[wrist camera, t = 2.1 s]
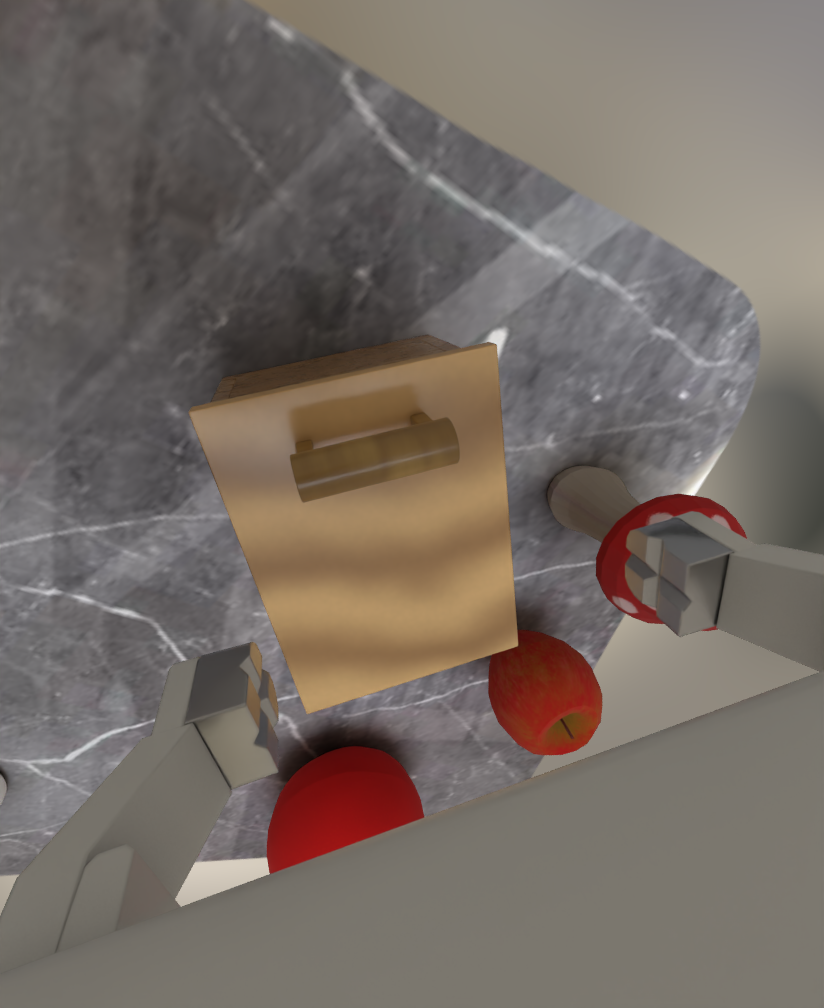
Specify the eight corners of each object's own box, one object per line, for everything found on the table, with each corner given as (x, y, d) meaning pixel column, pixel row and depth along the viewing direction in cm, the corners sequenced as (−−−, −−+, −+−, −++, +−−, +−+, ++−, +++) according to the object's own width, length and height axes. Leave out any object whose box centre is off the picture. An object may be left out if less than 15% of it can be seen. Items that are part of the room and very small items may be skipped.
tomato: (357, 698, 42) (383, 836, 32) (430, 768, 49) (471, 900, 39) (236, 776, 42) (224, 936, 32) (325, 834, 49) (338, 982, 39)
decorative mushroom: (652, 460, 39) (843, 557, 26) (601, 550, 42) (749, 678, 29) (554, 425, 35) (719, 518, 22) (506, 527, 38) (626, 661, 25)
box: (221, 377, 28) (198, 425, 20) (429, 333, 30) (490, 359, 21) (298, 599, 36) (306, 702, 27) (458, 553, 38) (512, 636, 29)
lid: (190, 406, 19) (167, 445, 15) (489, 341, 21) (542, 359, 17) (306, 703, 27) (311, 781, 23) (513, 637, 29) (552, 698, 25)
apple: (567, 631, 45) (645, 726, 36) (499, 687, 46) (557, 795, 37) (519, 583, 41) (592, 677, 31) (446, 646, 42) (495, 755, 32)
